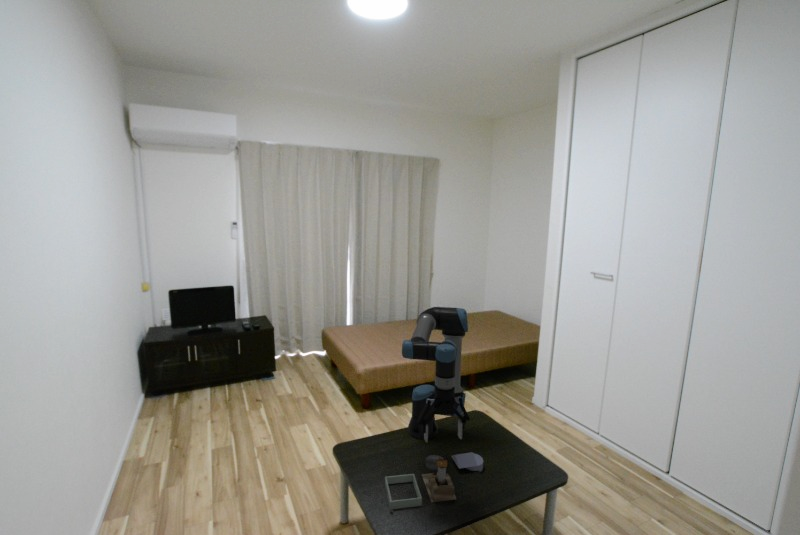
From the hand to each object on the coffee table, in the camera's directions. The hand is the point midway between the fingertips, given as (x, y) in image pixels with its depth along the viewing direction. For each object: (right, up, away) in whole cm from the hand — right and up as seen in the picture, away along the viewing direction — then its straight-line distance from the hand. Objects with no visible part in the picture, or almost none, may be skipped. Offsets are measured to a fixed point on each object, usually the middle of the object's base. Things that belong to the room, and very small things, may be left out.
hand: (443, 438), depth 143 cm
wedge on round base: (+14, -22, +21) cm, 33 cm away
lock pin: (0, -23, +3) cm, 23 cm away
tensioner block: (-1, -23, +7) cm, 24 cm away
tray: (-16, -23, +2) cm, 28 cm away
